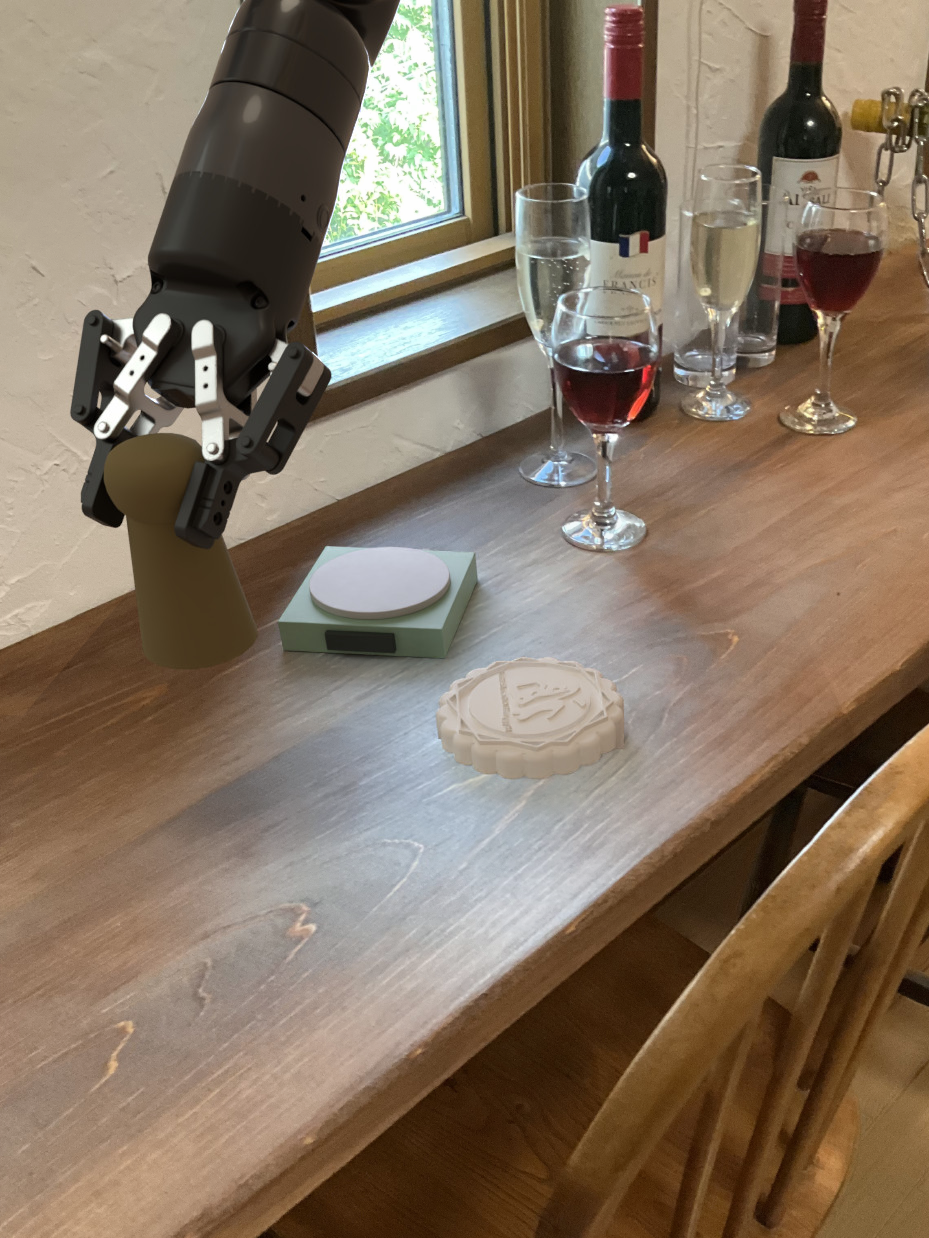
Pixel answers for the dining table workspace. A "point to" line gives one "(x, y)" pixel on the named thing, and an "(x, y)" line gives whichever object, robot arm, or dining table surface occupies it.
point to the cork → (175, 559)
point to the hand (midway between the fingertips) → (145, 530)
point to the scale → (380, 602)
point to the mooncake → (531, 718)
